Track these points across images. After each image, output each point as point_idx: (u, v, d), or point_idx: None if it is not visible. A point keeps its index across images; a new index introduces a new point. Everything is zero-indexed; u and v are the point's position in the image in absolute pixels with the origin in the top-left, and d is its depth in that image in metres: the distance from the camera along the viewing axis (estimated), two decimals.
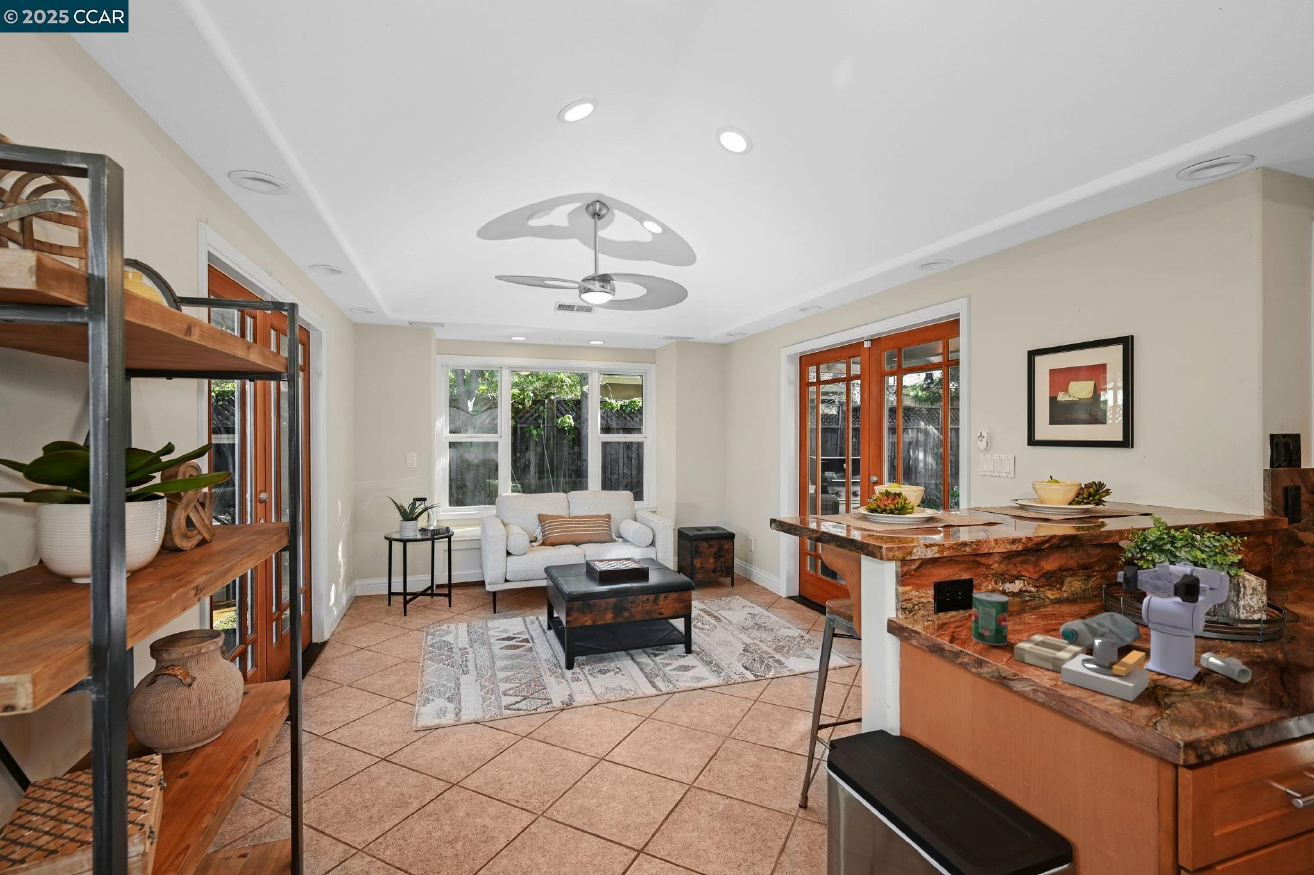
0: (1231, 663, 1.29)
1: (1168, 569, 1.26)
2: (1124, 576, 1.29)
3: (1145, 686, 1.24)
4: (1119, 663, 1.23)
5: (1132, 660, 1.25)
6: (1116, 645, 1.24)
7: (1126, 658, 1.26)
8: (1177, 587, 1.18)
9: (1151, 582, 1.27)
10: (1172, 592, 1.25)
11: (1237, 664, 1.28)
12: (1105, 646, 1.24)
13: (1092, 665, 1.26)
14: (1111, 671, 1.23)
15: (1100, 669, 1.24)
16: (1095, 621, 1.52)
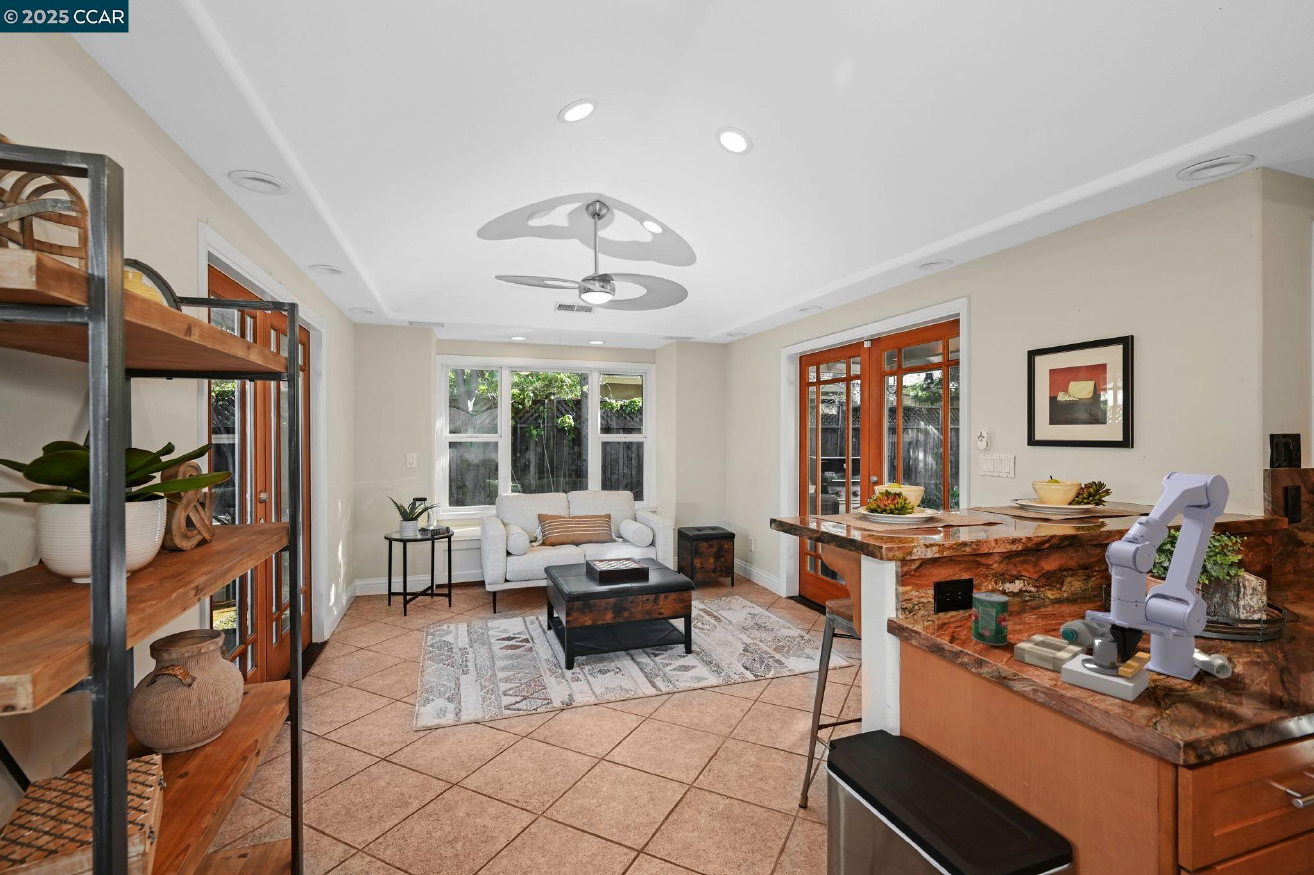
0: (1212, 659, 1.32)
1: (1128, 626, 1.25)
2: None
3: (1145, 686, 1.24)
4: (1125, 665, 1.23)
5: (1138, 661, 1.25)
6: (1116, 645, 1.24)
7: (1132, 659, 1.26)
8: None
9: None
10: None
11: (1217, 660, 1.31)
12: (1105, 646, 1.24)
13: (1092, 665, 1.26)
14: (1111, 671, 1.23)
15: (1100, 669, 1.24)
16: None
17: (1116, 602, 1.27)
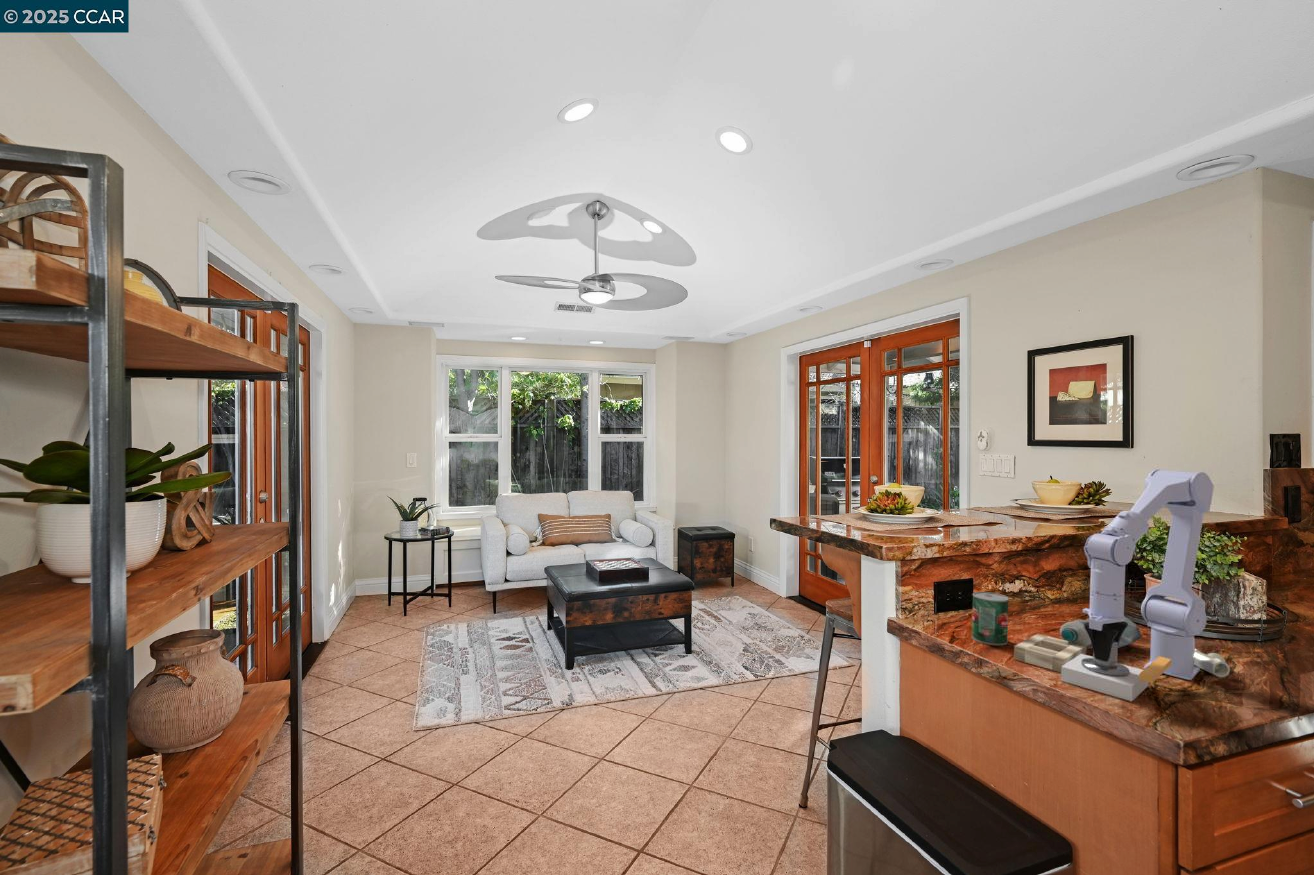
0: (1210, 658, 1.32)
1: (1087, 613, 1.28)
2: None
3: (1145, 686, 1.24)
4: (1146, 670, 1.20)
5: (1159, 666, 1.22)
6: (1116, 645, 1.24)
7: (1152, 665, 1.23)
8: None
9: None
10: None
11: (1215, 659, 1.31)
12: None
13: (1092, 665, 1.26)
14: (1111, 671, 1.23)
15: (1100, 669, 1.24)
16: None
17: None
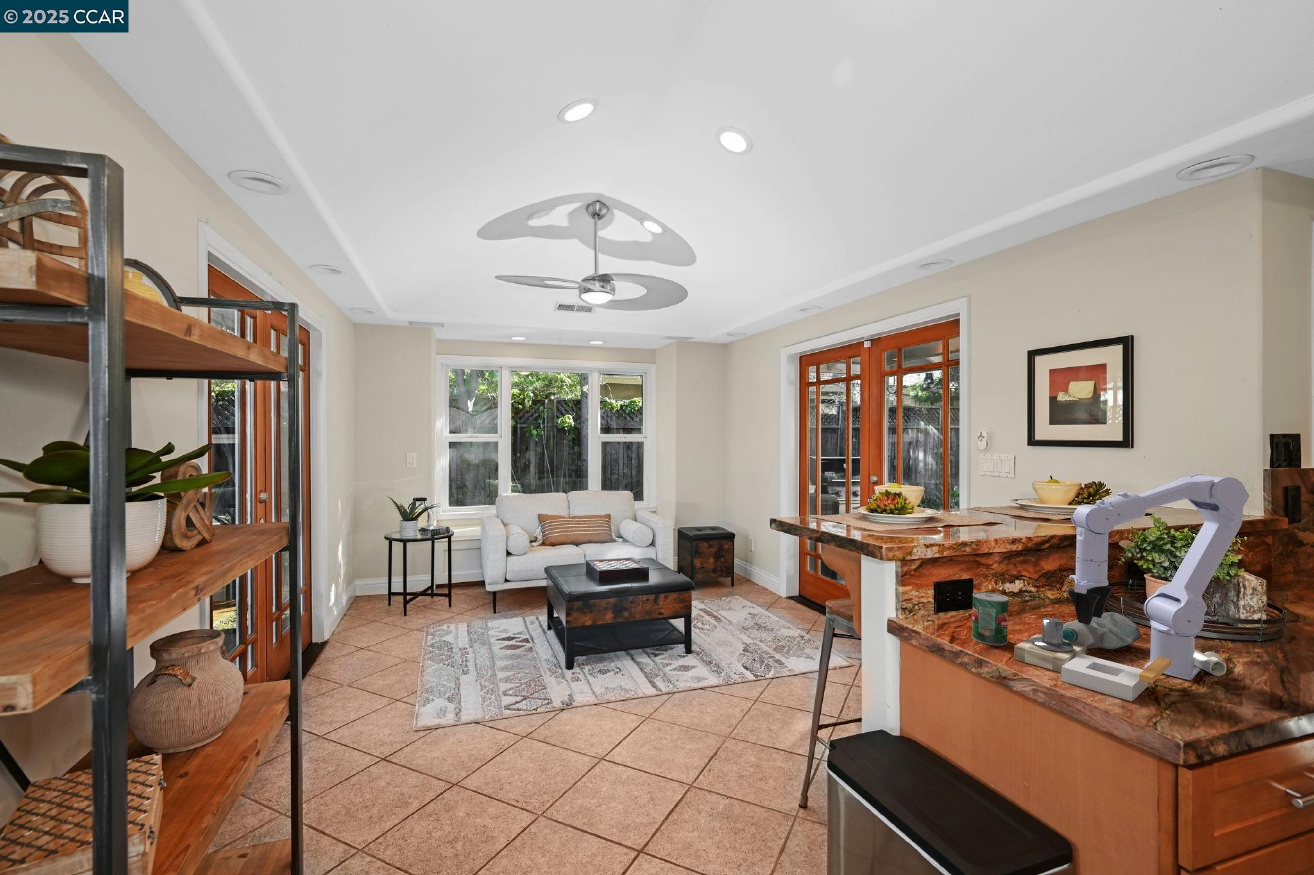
0: (1207, 657, 1.33)
1: (1073, 579, 1.36)
2: None
3: (1145, 686, 1.24)
4: (1146, 670, 1.20)
5: (1159, 666, 1.22)
6: (1061, 624, 1.37)
7: (1152, 665, 1.23)
8: None
9: None
10: None
11: (1212, 658, 1.32)
12: (1051, 625, 1.37)
13: (1040, 642, 1.39)
14: (1056, 648, 1.36)
15: (1046, 646, 1.37)
16: (1095, 621, 1.52)
17: None
